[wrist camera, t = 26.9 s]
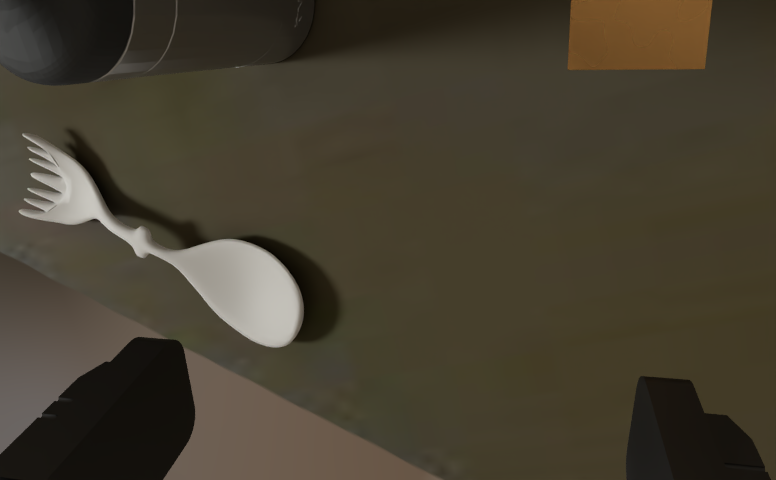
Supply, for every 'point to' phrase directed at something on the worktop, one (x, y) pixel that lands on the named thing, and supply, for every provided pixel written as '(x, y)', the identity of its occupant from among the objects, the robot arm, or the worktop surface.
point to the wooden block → (638, 34)
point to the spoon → (182, 255)
